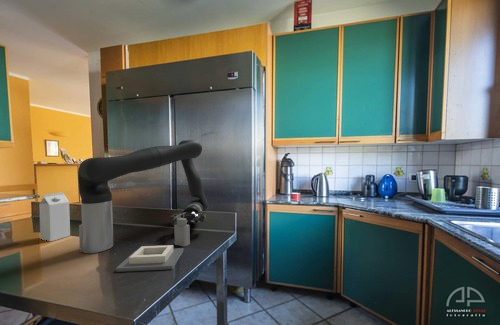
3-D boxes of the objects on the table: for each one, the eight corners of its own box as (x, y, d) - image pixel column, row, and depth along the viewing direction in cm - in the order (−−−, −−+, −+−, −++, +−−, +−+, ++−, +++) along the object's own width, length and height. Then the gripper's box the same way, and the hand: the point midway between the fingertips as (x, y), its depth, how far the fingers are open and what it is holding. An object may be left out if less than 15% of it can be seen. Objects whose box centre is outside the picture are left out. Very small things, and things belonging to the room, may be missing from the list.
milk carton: (40, 239, 92) (38, 194, 91) (60, 234, 98) (59, 191, 98) (50, 241, 89) (48, 194, 89) (70, 236, 95) (69, 192, 95)
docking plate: (115, 271, 63) (115, 261, 63) (136, 252, 76) (136, 244, 76) (172, 269, 64) (172, 258, 64) (183, 250, 77) (183, 242, 77)
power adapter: (179, 241, 86) (179, 211, 86) (190, 243, 84) (189, 212, 84) (173, 244, 83) (173, 212, 83) (184, 246, 81) (184, 214, 81)
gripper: (176, 205, 104) (165, 213, 87) (207, 204, 104) (202, 212, 88) (177, 221, 104) (166, 232, 87) (208, 220, 104) (202, 231, 88)
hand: (184, 222), depth 88 cm, fingers open, 8 cm apart
